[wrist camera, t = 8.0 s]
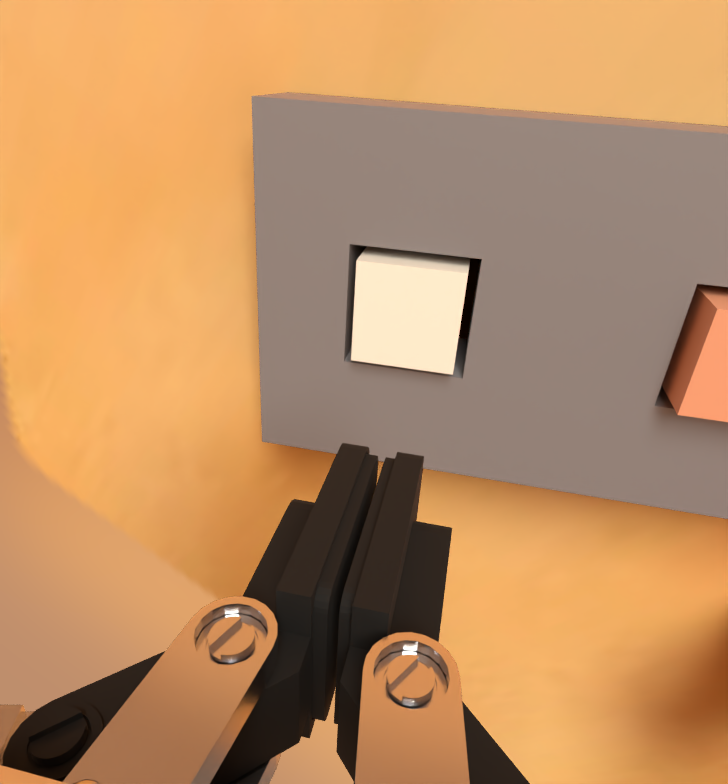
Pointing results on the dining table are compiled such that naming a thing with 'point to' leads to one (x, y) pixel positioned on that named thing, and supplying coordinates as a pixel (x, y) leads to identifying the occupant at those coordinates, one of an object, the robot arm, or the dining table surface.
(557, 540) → the dining table surface
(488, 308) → the button panel
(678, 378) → the peach square button
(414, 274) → the cream cube block
